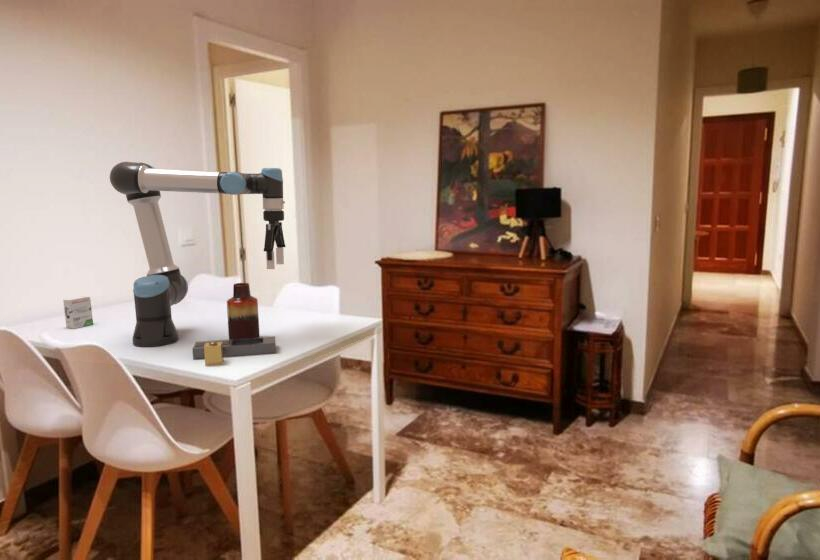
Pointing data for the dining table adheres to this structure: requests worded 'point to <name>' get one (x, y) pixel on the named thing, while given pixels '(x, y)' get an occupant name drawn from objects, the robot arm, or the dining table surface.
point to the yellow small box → (213, 353)
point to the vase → (242, 313)
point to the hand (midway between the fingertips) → (275, 266)
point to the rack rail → (239, 347)
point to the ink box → (78, 312)
